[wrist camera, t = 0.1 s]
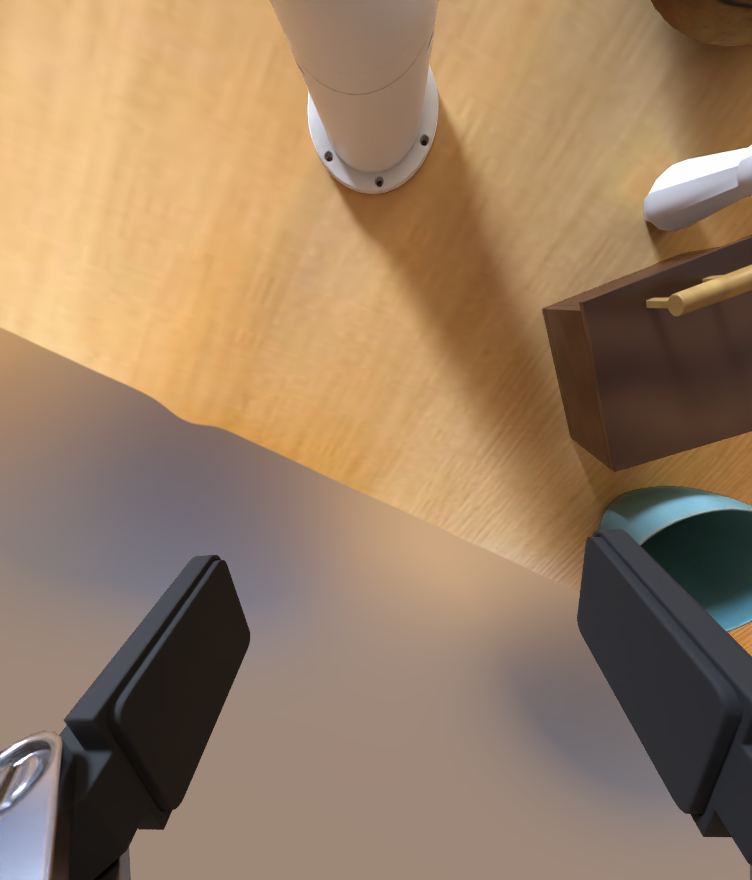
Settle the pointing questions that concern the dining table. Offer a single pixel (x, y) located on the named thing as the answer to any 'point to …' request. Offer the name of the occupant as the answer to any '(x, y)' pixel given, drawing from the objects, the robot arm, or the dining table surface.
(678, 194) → the salt shaker
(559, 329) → the chest
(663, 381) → the chest lid
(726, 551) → the green bowl
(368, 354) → the dining table surface
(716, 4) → the ceramic pitcher
